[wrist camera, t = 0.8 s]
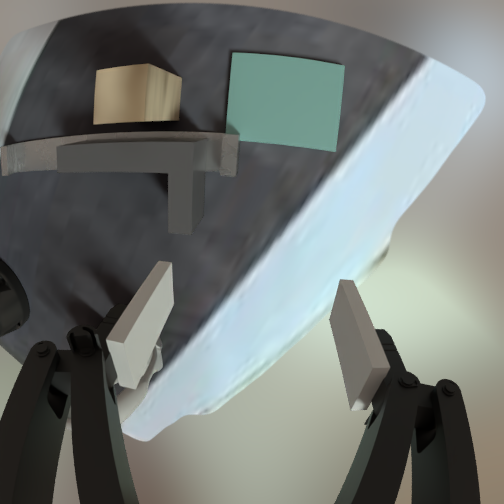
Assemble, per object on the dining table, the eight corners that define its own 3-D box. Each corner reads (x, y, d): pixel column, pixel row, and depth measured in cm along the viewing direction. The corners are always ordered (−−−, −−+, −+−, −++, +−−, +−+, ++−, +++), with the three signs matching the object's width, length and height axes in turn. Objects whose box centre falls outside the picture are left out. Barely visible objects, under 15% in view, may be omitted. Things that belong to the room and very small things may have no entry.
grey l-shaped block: (87, 208, 35) (62, 223, 29) (84, 140, 31) (56, 146, 25) (203, 216, 34) (191, 234, 29) (207, 138, 31) (194, 142, 25)
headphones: (157, 288, 40) (95, 401, 21) (192, 336, 43) (157, 452, 25) (79, 324, 44) (21, 408, 26) (111, 362, 47) (67, 449, 29)
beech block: (138, 121, 30) (93, 124, 21) (141, 80, 28) (96, 70, 19) (178, 120, 30) (143, 121, 21) (181, 78, 28) (148, 63, 19)
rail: (12, 172, 33) (2, 175, 31) (11, 144, 31) (0, 147, 29) (237, 172, 33) (235, 176, 30) (240, 134, 31) (238, 135, 28)
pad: (225, 139, 31) (225, 139, 30) (233, 53, 27) (232, 52, 26) (334, 151, 31) (335, 151, 30) (343, 66, 27) (344, 65, 26)
